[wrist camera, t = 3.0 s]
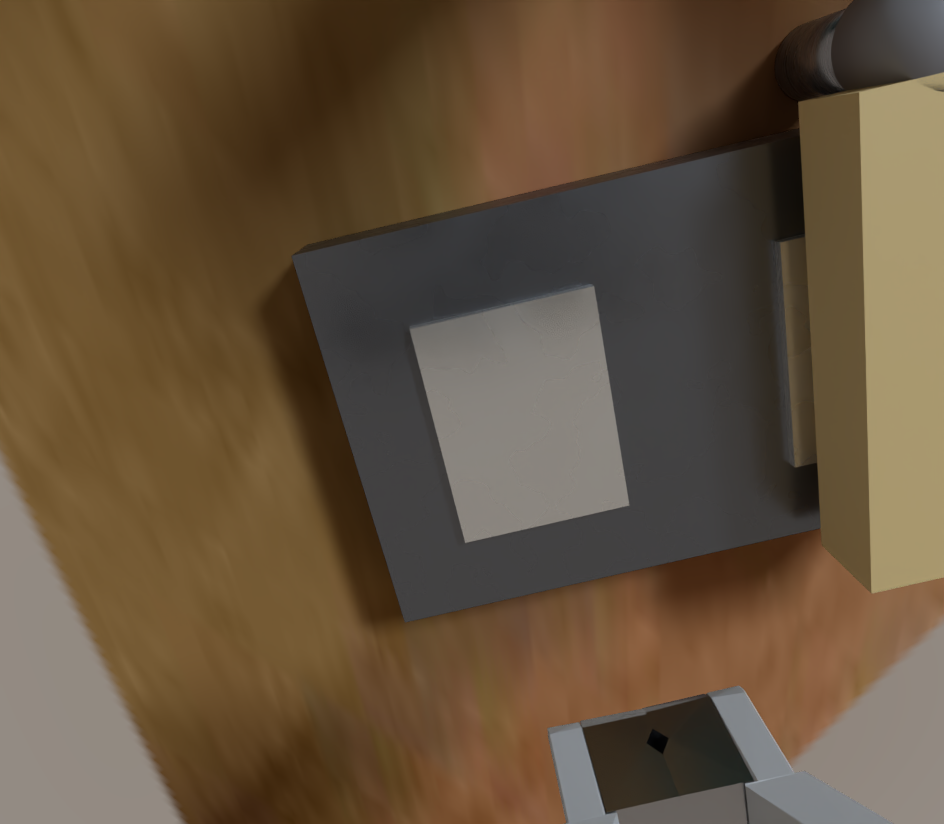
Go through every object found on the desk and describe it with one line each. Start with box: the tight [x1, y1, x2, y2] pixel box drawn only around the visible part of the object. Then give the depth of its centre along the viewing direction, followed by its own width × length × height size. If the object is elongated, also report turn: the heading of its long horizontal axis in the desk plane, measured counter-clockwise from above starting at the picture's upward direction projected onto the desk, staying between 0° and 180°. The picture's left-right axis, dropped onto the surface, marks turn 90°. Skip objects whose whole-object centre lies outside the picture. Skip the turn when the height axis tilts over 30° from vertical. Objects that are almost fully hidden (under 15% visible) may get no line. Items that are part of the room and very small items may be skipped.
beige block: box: [798, 0, 944, 594], centre depth 21 cm, size 18×5×3 cm, turn 13°
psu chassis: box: [292, 8, 847, 622], centre depth 24 cm, size 17×24×4 cm
